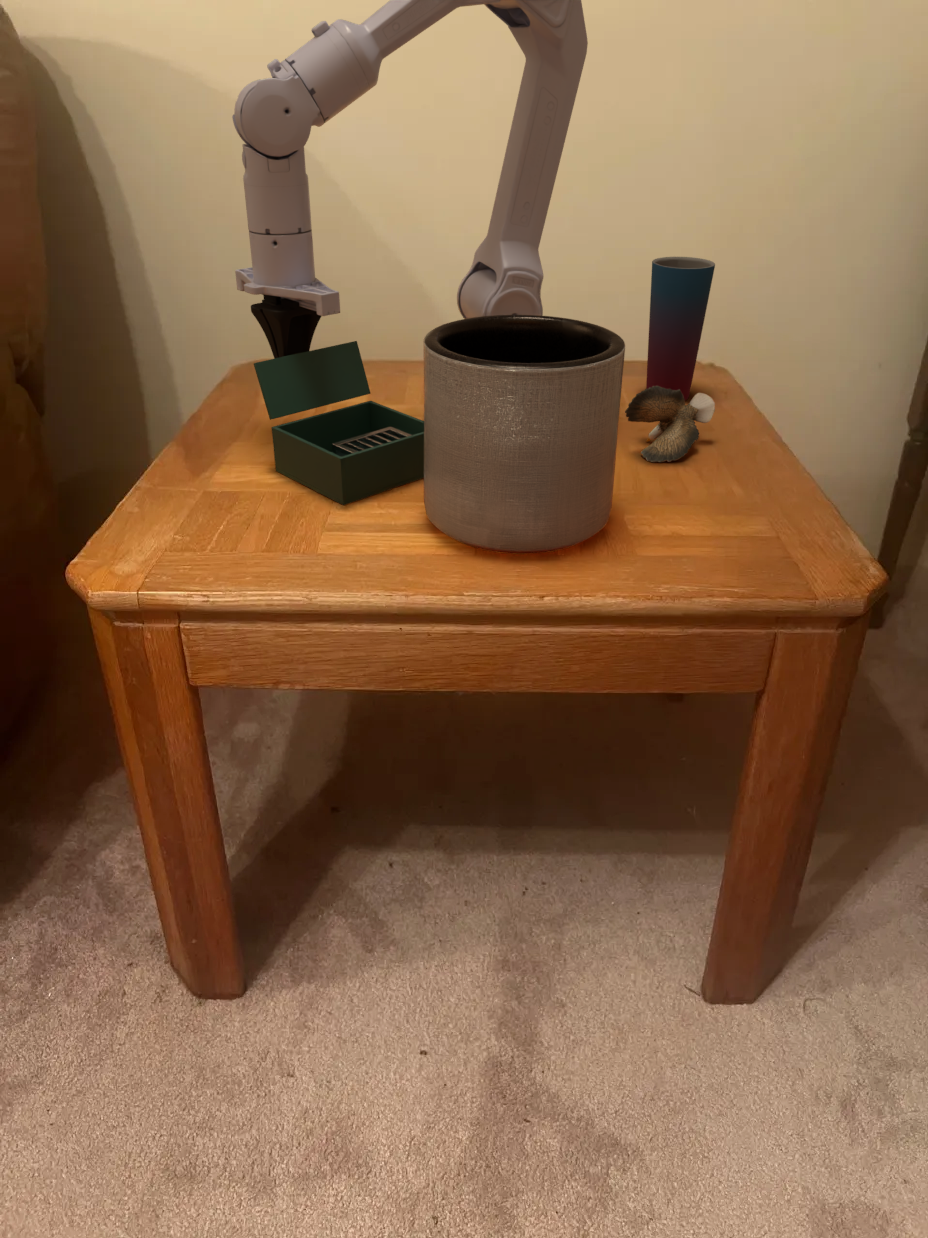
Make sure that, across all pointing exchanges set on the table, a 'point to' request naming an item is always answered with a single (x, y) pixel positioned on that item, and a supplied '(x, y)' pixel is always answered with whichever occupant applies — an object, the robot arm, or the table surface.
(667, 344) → the cup
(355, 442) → the rack
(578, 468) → the planter
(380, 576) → the table surface
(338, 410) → the green box
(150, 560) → the table surface
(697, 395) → the mushroom cluster
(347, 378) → the lid
